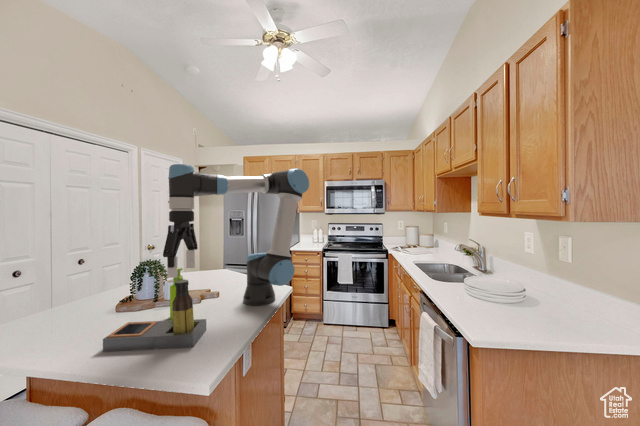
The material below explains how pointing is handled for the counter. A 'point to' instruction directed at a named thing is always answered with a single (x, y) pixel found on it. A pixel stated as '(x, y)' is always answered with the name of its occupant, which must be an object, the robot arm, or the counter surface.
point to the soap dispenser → (174, 291)
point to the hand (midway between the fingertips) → (182, 272)
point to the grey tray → (152, 336)
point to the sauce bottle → (182, 308)
